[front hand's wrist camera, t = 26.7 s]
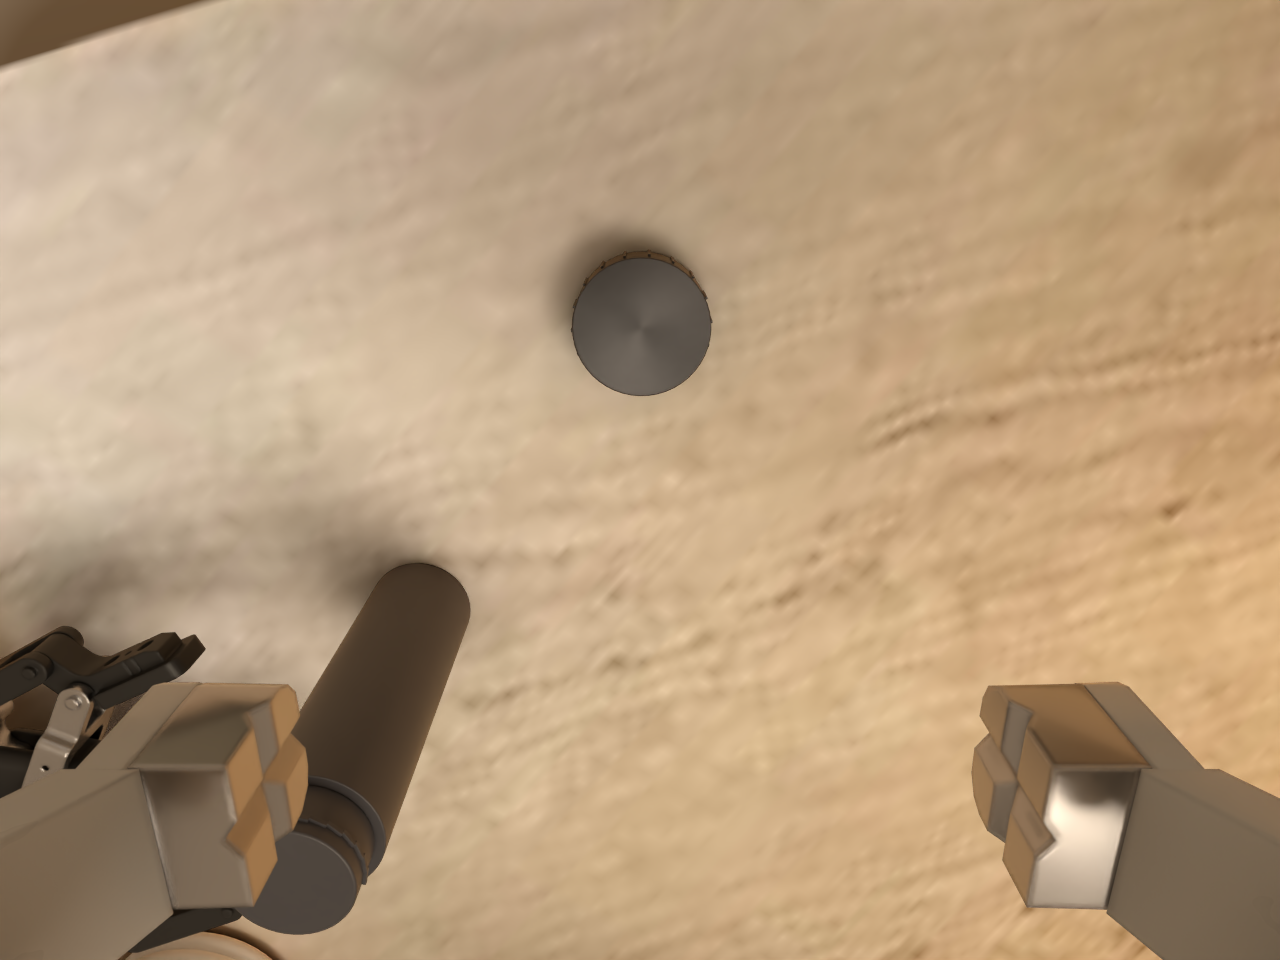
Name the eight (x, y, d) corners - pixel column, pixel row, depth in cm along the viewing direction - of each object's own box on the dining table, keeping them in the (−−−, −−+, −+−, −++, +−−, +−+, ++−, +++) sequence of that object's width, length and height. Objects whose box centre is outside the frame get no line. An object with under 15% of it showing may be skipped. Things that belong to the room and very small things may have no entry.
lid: (594, 397, 37) (591, 411, 35) (559, 267, 35) (554, 275, 33) (720, 367, 37) (725, 380, 35) (691, 234, 35) (695, 239, 33)
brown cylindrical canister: (447, 550, 40) (325, 804, 24) (485, 634, 41) (393, 922, 26) (355, 579, 40) (179, 845, 25) (396, 661, 42) (254, 959, 26)
